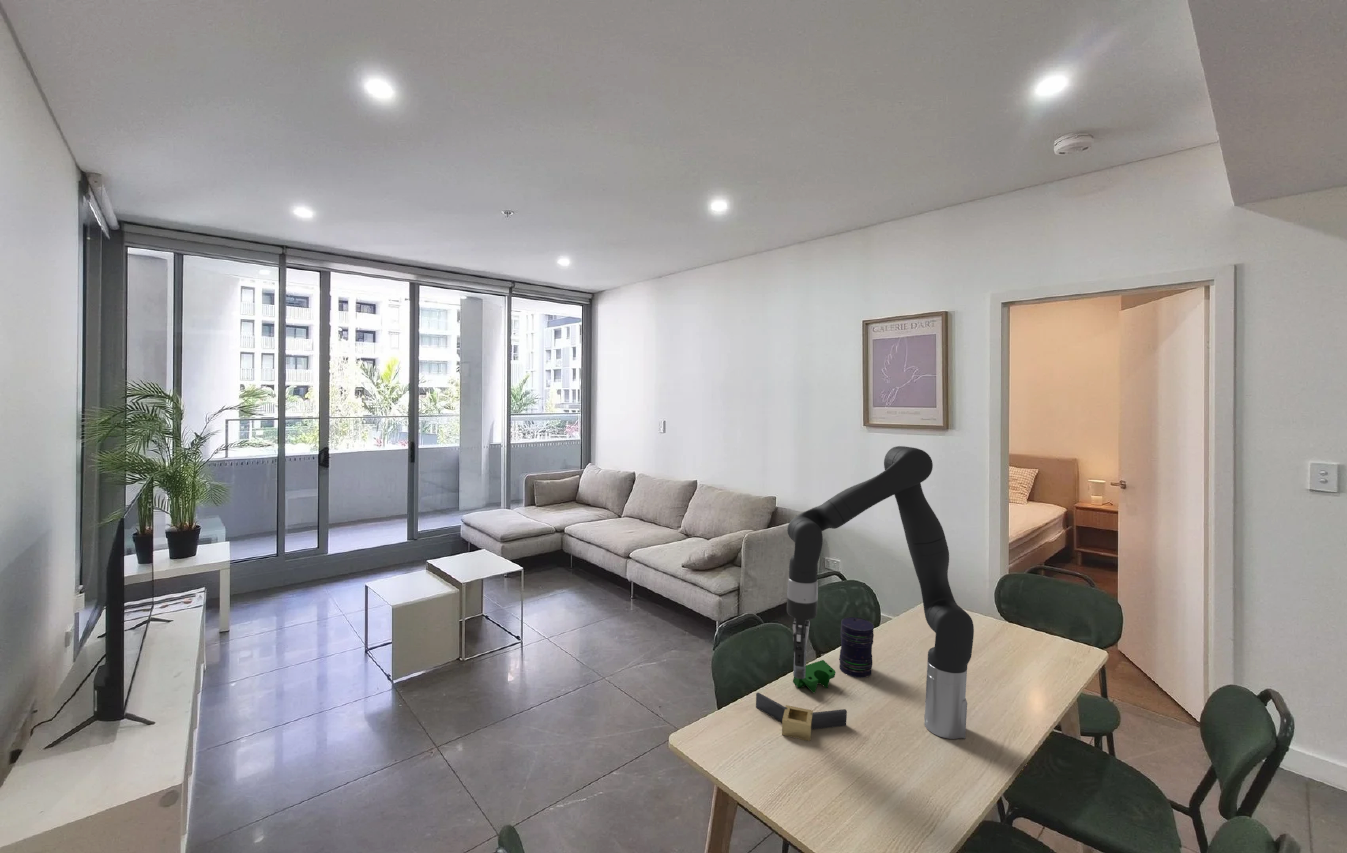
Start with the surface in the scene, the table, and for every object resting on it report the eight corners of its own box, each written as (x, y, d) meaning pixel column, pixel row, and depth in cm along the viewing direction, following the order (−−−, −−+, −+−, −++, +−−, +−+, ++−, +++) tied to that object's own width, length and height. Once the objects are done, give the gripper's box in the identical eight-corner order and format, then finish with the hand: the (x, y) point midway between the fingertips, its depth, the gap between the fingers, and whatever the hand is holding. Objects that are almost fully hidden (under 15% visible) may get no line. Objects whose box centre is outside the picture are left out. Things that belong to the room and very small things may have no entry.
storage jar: (876, 678, 168) (878, 630, 167) (844, 677, 168) (846, 630, 167) (865, 662, 178) (867, 617, 177) (835, 661, 178) (837, 616, 177)
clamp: (808, 706, 160) (805, 686, 156) (794, 692, 165) (791, 671, 161) (838, 683, 165) (836, 662, 160) (824, 669, 169) (821, 649, 165)
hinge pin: (805, 674, 142) (807, 636, 141) (804, 679, 139) (806, 641, 138) (794, 671, 143) (795, 634, 142) (792, 677, 140) (794, 639, 139)
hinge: (846, 723, 145) (846, 709, 144) (845, 748, 135) (846, 732, 134) (756, 705, 152) (756, 691, 152) (749, 727, 142) (749, 712, 142)
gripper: (815, 608, 131) (812, 678, 133) (819, 588, 145) (817, 652, 146) (783, 604, 134) (781, 672, 135) (790, 585, 147) (788, 647, 148)
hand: (800, 661), depth 140 cm, fingers closed on hinge pin, 3 cm apart
